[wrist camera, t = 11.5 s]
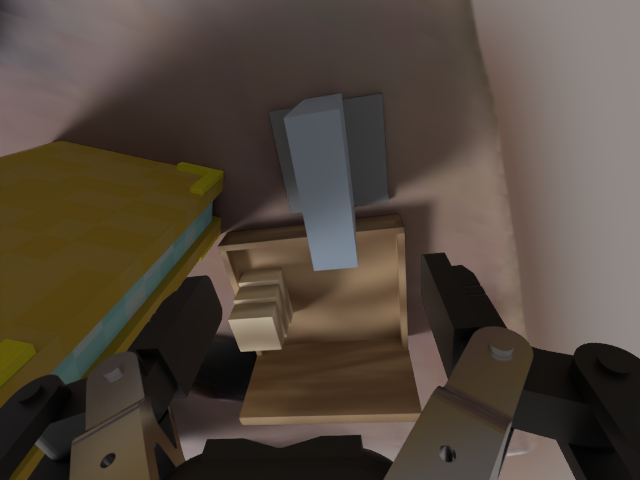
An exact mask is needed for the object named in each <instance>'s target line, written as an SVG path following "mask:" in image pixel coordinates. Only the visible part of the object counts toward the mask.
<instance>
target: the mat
mask: <svg viewBox="0 0 640 480" xmlns="http://www.w3.org/2000/svg"><path fill="white" fill-rule="evenodd" d="M342 101H343V110H344V119H345V128H346V137H347V146H348V155H349V163H350V172H351V181H352V190H353V199H354V207H356V206H364V205H373V204H382V203H389V199H388V181H387V164H386V146H385V128H384V110H383V94H382V93H380V94H373V95H367V96H361V97H355V98H349V99H343V100H342ZM294 108H295V107H293V108H287V109H281V110H275V111H270V112H269V116H270V121H271V125H272V130H273V134H274V139H275V143H276V148H277V152H278V157H279V161H280V166H281V171H282V175H283V180H284V184H285V189H286V193H287V198H288V202H289V207H290V211H291V214H295V213H302V208H301V203H300V198H299V193H298V188H297V183H296V177H295V172H294V167H293V162H292V157H291V152H290V147H289V142H288V137H287V132H286V127H285V122H284V117H285V116H286V115H287V114H288V113H289V112H291V111H292V110H293V109H294Z"/></svg>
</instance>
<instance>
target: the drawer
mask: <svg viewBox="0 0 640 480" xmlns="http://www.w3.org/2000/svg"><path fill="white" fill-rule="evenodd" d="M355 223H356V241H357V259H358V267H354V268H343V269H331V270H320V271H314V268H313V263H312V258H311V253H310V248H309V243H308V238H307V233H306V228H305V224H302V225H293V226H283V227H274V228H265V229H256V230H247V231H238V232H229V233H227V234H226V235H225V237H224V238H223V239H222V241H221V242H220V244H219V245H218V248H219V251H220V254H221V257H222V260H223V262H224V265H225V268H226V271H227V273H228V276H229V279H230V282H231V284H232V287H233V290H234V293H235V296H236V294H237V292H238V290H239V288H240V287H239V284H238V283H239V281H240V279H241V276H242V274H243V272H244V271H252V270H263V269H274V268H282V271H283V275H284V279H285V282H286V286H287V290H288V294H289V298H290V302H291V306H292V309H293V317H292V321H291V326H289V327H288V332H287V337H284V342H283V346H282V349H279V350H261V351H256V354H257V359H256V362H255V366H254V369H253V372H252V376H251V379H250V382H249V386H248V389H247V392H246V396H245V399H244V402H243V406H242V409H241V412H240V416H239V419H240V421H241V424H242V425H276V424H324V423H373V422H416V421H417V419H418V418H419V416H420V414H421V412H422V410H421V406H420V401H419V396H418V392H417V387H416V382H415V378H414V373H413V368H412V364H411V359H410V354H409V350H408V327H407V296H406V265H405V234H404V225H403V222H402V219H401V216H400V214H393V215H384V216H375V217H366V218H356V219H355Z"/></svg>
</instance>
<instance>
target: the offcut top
mask: <svg viewBox="0 0 640 480" xmlns="http://www.w3.org/2000/svg"><path fill="white" fill-rule="evenodd" d="M228 321H229V324H230V326H231V329H232V331H233V334H234V336H235V339H236V341H237V344H238V346H239V349H240V351H241V352H243V351H261V350H279V349H282V346H283V342H284V337H285V330H284V327H283V323H282V320H281V316H280V313H279V309H278V306H277V302H264V303H251V304H238V305H235V306H234V308H233V310H232V312H231V315H230V317H229V319H228Z"/></svg>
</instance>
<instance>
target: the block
mask: <svg viewBox="0 0 640 480" xmlns="http://www.w3.org/2000/svg"><path fill="white" fill-rule="evenodd" d="M284 122H285V127H286V132H287V137H288V142H289V147H290V152H291V157H292V162H293V167H294V172H295V177H296V183H297V188H298V193H299V198H300V203H301V208H302V213H303V218H304V223H305V228H306V233H307V238H308V243H309V248H310V253H311V258H312V263H313V268H314V271H320V270H331V269H343V268H354V267H358V259H357V241H356V223H355V208H354V199H353V190H352V181H351V172H350V163H349V155H348V146H347V137H346V128H345V119H344V110H343V101H342V93H340V94H334V95H327V96H321V97H315V98H309V99H303V100H302V101H301V102H300V103H299V104H298V105H297V106H296V107H295V108H294V109H293V110H292V111H291V112H289V113H288V114H287V115H286V116H285V117H284Z"/></svg>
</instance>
